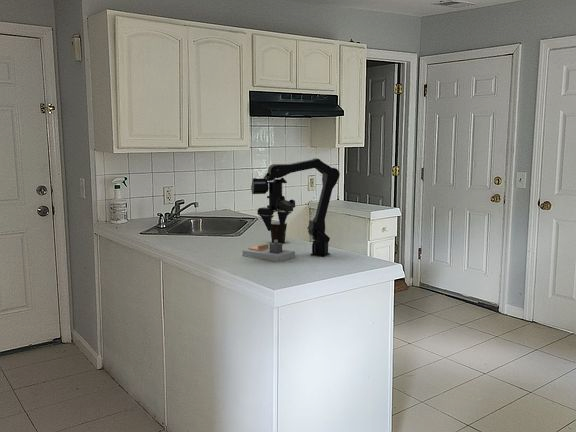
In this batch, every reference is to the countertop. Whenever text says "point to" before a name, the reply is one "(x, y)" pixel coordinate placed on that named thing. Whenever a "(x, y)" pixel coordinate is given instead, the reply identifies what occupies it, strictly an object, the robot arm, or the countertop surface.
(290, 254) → the socket plate
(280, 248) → the plug
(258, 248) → the shutter
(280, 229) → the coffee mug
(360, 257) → the countertop surface
